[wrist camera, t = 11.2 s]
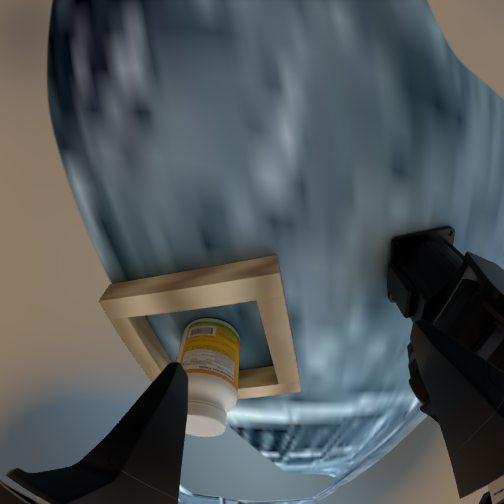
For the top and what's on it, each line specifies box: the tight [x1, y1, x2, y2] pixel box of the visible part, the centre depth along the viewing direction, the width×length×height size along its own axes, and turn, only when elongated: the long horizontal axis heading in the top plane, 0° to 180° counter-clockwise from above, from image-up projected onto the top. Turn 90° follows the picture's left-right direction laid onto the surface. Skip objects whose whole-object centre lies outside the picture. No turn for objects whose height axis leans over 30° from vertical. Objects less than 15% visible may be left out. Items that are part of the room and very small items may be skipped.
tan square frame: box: [99, 255, 301, 399], centre depth 24 cm, size 15×15×2 cm
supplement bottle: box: [176, 318, 240, 437], centre depth 21 cm, size 5×5×10 cm
